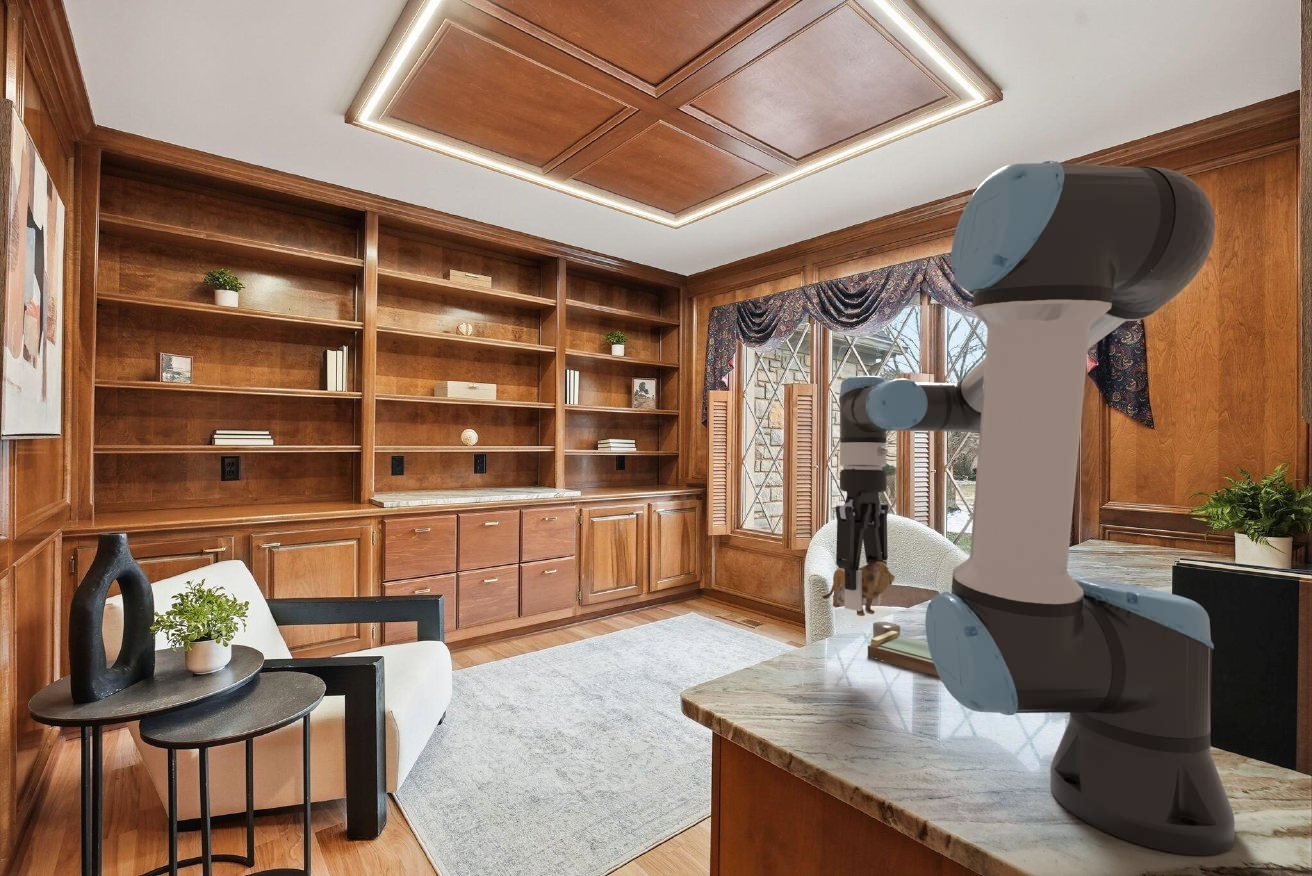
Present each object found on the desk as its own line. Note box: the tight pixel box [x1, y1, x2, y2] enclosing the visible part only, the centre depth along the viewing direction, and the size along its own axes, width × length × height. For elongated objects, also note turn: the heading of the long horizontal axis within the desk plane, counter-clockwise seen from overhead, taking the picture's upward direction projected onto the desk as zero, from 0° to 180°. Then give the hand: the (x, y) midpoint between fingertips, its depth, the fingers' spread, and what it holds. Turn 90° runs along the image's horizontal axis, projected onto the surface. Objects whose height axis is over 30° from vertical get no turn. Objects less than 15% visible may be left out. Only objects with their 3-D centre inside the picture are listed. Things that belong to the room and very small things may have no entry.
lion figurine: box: [822, 562, 896, 617], centre depth 107 cm, size 15×5×9 cm, turn 30°
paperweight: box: [872, 621, 901, 638], centre depth 122 cm, size 5×5×3 cm
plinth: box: [867, 631, 939, 677], centre depth 108 cm, size 10×21×3 cm, turn 43°
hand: (862, 606), depth 105 cm, fingers closed on lion figurine, 5 cm apart
